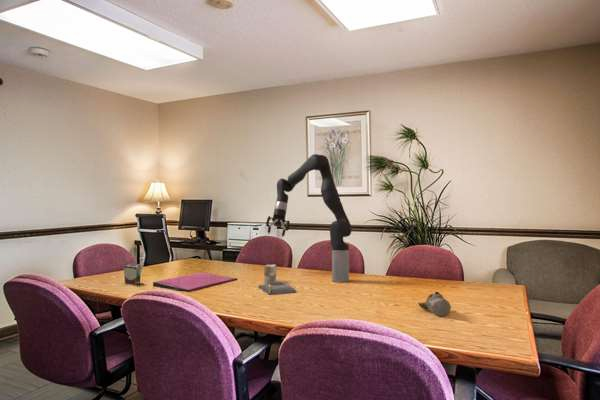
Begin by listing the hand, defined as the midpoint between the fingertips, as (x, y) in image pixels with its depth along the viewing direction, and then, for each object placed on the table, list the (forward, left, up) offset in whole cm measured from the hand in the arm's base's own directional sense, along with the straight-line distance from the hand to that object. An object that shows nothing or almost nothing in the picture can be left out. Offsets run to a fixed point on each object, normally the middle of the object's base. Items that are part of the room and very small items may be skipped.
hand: (275, 234), depth 247 cm
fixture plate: (-11, +45, -24) cm, 52 cm away
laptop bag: (+37, +36, -24) cm, 57 cm away
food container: (+69, +40, -24) cm, 84 cm away
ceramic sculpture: (-82, +77, -24) cm, 115 cm away
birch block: (-3, +26, -24) cm, 35 cm away
